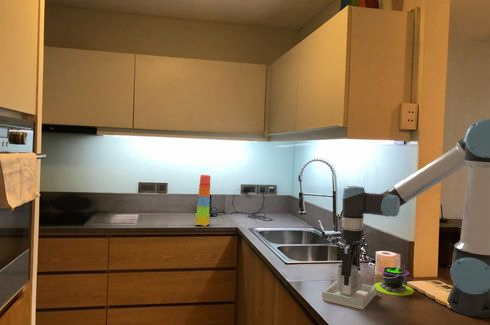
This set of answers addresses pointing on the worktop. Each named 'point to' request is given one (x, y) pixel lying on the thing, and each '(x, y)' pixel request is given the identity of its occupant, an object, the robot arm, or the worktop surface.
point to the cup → (355, 279)
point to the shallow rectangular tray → (350, 296)
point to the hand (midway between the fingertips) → (350, 290)
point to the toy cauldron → (393, 281)
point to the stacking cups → (203, 201)
